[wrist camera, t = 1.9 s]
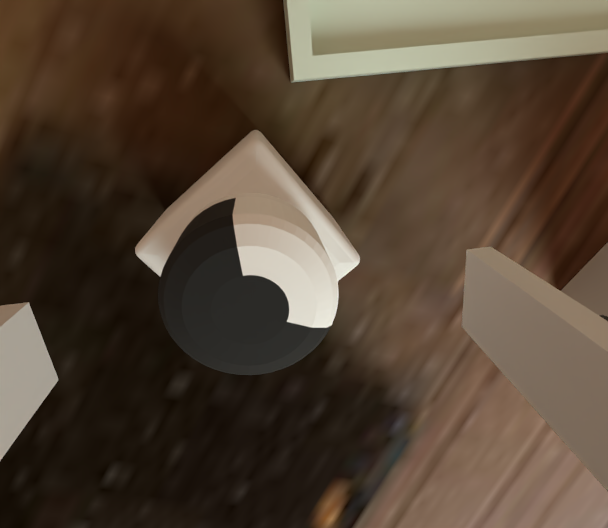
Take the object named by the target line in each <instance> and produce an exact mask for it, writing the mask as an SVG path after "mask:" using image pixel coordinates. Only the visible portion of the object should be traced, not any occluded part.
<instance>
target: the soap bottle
mask: <svg viewBox="0 0 608 528" xmlns="http://www.w3.org/2000/svg"><path fill="white" fill-rule="evenodd" d="M561 292H563V293H564V294H566V295H567V296H569V297H571V298H572V299H574V300H575V301H577V302H578V303H580V304H581V305H583V306H585V307H586V308H588V309H589V310H591V311H592V312H594V313H596V314H597V315H604V316H607V317H608V242H607V243H606V244H605V245H604V246H603V247H602V249H601V250H600V251H599V252H598V253H597V254H596V255H595V256H594V257H593V258H592V259H591V260H590V261H589V262H588V263H587V264H586V265H585V266H584V267H583V268H582V269H581V270H580V271H579V272H578V273H577V274H576V275H575V276H574V278H573V279H572V280H571V281H570V282H569V283H568V284H567V285H566V286H565V287H564V288H563V289H562V290H561Z"/></svg>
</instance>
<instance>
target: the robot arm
mask: <svg viewBox="0 0 608 528" xmlns="http://www.w3.org/2000/svg"><path fill="white" fill-rule="evenodd" d="M462 328H463V329H464V330H465V331H466V332H467V333H468V334H469V336H470V337H471V338H472V339H473V340H474V341H475V342H476V343H477V345H478V346H479V347H480V348H481V349H482V350H483V351H484V352H485V354H486V355H487V356H488V357H489V358H490V359H491V360H492V362H493V363H494V364H495V365H496V366H497V367H498V368H499V369H500V371H501V372H502V373H503V374H504V375H505V376H506V377H507V378H508V380H509V381H510V382H511V383H512V384H513V385H514V386H515V387H516V389H517V390H518V391H519V392H520V393H521V394H522V395H523V396H524V398H525V399H526V400H527V401H528V402H529V403H530V404H531V405H532V407H533V408H534V409H535V410H536V411H537V412H538V413H539V415H540V416H541V417H542V418H543V419H544V420H545V421H546V422H547V424H548V425H549V426H550V427H551V428H552V429H553V430H554V431H555V433H556V434H557V435H558V436H559V437H560V438H561V439H562V440H563V442H564V443H565V444H566V445H567V446H568V447H569V448H570V449H571V451H572V452H573V453H574V454H575V455H576V456H577V457H578V458H579V460H580V461H581V462H582V463H583V464H584V465H585V466H586V467H587V469H588V470H589V471H590V472H591V473H592V474H593V475H594V477H595V478H596V479H597V480H598V481H599V482H600V483H601V484H602V486H603V487H604V488H605V489H606V490H607V491H608V317H607V316H604V315H597V314H596V313H594V312H592V311H591V310H589V309H588V308H586V307H585V306H583V305H581V304H580V303H578V302H577V301H575V300H574V299H572V298H571V297H569V296H567V295H566V294H564V293H563V292H561V291H560V290H558V289H556V288H555V287H553V286H552V285H550V284H549V283H547V282H545V281H544V280H542V279H541V278H539V277H538V276H536V275H534V274H533V273H531V272H530V271H528V270H527V269H525V268H523V267H522V266H520V265H519V264H517V263H516V262H514V261H512V260H511V259H509V258H508V257H506V256H505V255H503V254H501V253H500V252H498V251H497V250H495V249H494V248H492V247H484V248H476V249H468V250H467V255H466V270H465V285H464V300H463V315H462ZM57 381H58V377H57V375H56V372H55V369H54V367H53V364H52V362H51V359H50V356H49V354H48V351H47V349H46V346H45V344H44V341H43V338H42V336H41V333H40V331H39V328H38V325H37V323H36V320H35V318H34V315H33V313H32V310H31V307H30V305H29V302H28V303H19V304H11V305H3V306H0V460H1V459H2V457H3V456H4V455H5V453H6V452H7V450H8V449H9V448H10V446H11V445H12V443H13V442H14V441H15V439H16V438H17V437H18V435H19V434H20V432H21V431H22V430H23V428H24V427H25V426H26V424H27V423H28V421H29V420H30V419H31V417H32V416H33V414H34V413H35V412H36V410H37V409H38V408H39V406H40V405H41V403H42V402H43V401H44V399H45V398H46V396H47V395H48V394H49V392H50V391H51V390H52V388H53V387H54V385H55V384H56V383H57Z"/></svg>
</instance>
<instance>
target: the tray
mask: <svg viewBox="0 0 608 528" xmlns="http://www.w3.org/2000/svg"><path fill="white" fill-rule="evenodd" d="M283 5H284V15H285V26H286V37H287V48H288V58H289V69H290V80H291V82H300V81H311V80H322V79H332V78H343V77H354V76H364V75H375V74H386V73H397V72H407V71H418V70H429V69H439V68H450V67H461V66H472V65H482V64H493V63H504V62H515V61H525V60H536V59H547V58H557V57H568V56H579V55H590V54H600V53H608V0H283Z"/></svg>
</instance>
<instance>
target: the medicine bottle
mask: <svg viewBox="0 0 608 528" xmlns="http://www.w3.org/2000/svg"><path fill="white" fill-rule="evenodd" d="M135 253H136V255H137V256H138V257H139V258H140V259H141V260H142V261H143V262H144V263H145V264H146V265H148V266H149V267H150V268H151V269H152V270H153V271H154V272H155V273H157V274H158V275H159V276H160V281H159V288H158V303H159V308H160V313H161V316H162V319H163V322H164V325H165V326H166V328H167V330H168V332H169V334H170V335H171V337H172V338H173V339H174V341H175V342H176V344H177V345H178V346H179V347H180V348H181V349H182V350H183V351H184V352H186V353H187V354H188V355H189V356H191V357H192V358H193V359H195V360H197V361H198V362H200V363H202V364H203V365H206V366H208V367H210V368H213V369H215V370H219V371H222V372H226V373H232V374H239V375H256V374H264V373H269V372H274V371H277V370H280V369H283V368H285V367H288V366H290V365H292V364H294V363H296V362H297V361H299V360H301V359H302V358H304V357H305V356H306V355H308V354H309V353H310V352H312V351H313V350H314V349H315V348H316V347H317V346H318V345H319V344H320V342H321V341H322V340H323V338H324V337H325V336H326V334H327V332H328V331H329V329H330V327H331V325H332V323H333V320H334V317H335V315H336V310H337V306H338V295H339V292H338V281H339V280H340V279H341V278H342V277H344V276H345V275H346V274H347V273H349V272H350V271H351V270H352V269H354V268H355V267H356V266H357V265H358V264H359V261H360V257H359V255H358V253H357V252H356V250H355V249H354V247H353V246H352V244H351V243H350V241H349V240H348V238H347V237H346V236H345V234H344V233H343V231H342V230H341V228H340V227H339V225H338V224H337V222H336V221H335V220H334V218H333V217H332V216H331V214H330V213H329V212H328V211H327V210H326V209H325V207H324V206H323V205H322V204H321V203H320V201H319V200H318V199H317V198H316V197H315V196H314V194H313V193H312V192H311V191H310V190H309V188H308V187H307V186H306V185H305V184H304V183H303V181H302V180H301V179H300V178H299V177H298V175H297V174H296V173H295V172H294V171H293V170H292V168H291V167H290V166H289V165H288V164H287V163H286V161H285V160H284V159H283V158H282V157H281V155H280V154H279V153H278V152H277V151H276V150H275V148H274V147H273V146H272V145H271V144H270V142H269V141H268V140H267V139H266V138H265V137H264V135H263V134H262V133H261V132H260V131H258V130H253V131H251V132H250V133H249V134H248V135H247V136H246V137H244V138H243V139H242V140H241V141H240V142H239V143H238V144H237V145H236V146H235V147H234V148H232V149H231V150H230V151H229V152H228V153H227V154H226V155H225V156H224V157H223V158H222V159H220V160H219V161H218V162H217V163H216V164H215V165H214V166H213V167H212V168H211V169H210V170H208V171H207V172H206V173H205V174H204V175H203V176H202V177H201V178H200V179H199V180H198V181H197V182H195V183H194V184H193V185H192V186H191V187H190V188H189V189H188V190H187V191H186V192H185V193H183V194H182V195H181V196H180V197H179V198H178V199H177V200H176V201H175V202H174V203H173V204H171V205H170V206H169V207H168V208H167V209H166V210H165V212H164V213H163V214H162V215H161V217H160V218H159V219H158V220H157V221H156V223H155V224H154V225H153V226H152V227H151V229H150V230H149V231H148V232H147V233H146V235H145V236H144V237H143V238H142V239H141V241H140V242H139V243H138V244H137V246H136V247H135Z"/></svg>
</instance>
